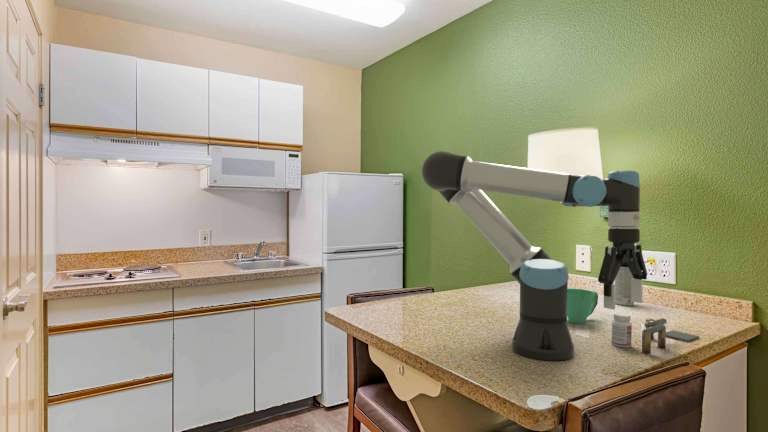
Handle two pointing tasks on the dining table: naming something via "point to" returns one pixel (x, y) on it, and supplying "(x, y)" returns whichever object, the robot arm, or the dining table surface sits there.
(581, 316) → the mug
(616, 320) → the pill bottle
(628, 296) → the spray can
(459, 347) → the dining table surface
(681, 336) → the pad
